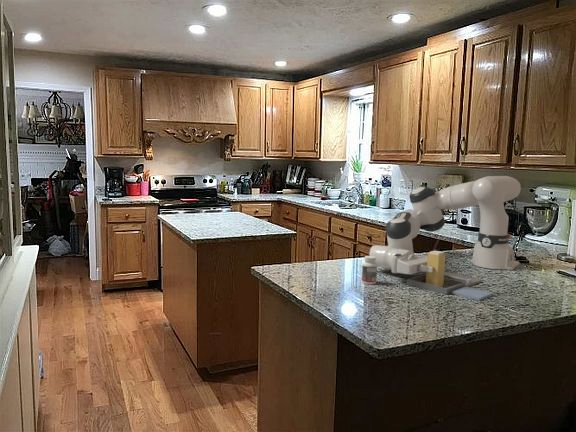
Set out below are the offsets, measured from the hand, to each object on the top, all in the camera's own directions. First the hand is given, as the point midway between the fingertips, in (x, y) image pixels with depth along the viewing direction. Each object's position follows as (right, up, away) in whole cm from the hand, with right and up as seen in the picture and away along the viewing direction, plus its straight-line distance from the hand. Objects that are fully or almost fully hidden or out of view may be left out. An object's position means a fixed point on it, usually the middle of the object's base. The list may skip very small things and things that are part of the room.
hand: (437, 268), depth 172 cm
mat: (+9, -8, -8) cm, 15 cm away
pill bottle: (-24, -6, +4) cm, 25 cm away
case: (+4, -6, +6) cm, 9 cm away
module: (-1, -6, +2) cm, 7 cm away
